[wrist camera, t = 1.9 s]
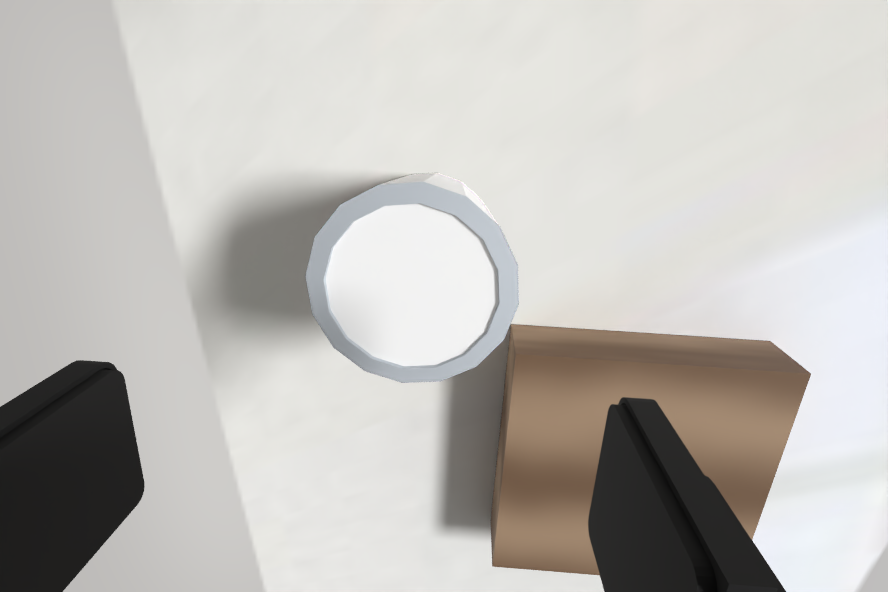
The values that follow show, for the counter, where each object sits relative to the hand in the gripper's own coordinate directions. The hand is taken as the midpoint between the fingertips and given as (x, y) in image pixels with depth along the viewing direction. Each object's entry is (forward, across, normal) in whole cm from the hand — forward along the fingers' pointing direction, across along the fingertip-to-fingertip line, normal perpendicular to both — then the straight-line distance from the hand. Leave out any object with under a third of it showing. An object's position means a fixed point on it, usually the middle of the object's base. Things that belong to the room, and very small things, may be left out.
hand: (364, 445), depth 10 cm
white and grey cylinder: (+14, 0, -1) cm, 14 cm away
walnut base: (+14, -10, +9) cm, 20 cm away
